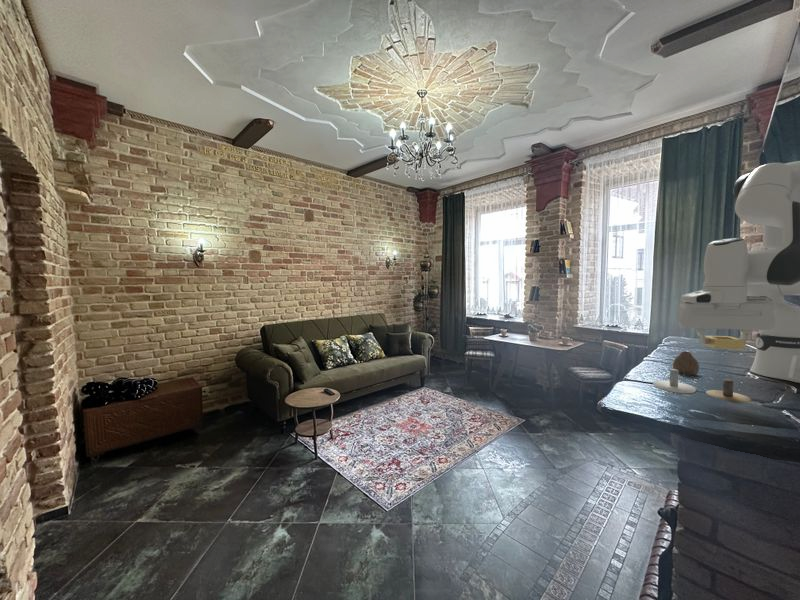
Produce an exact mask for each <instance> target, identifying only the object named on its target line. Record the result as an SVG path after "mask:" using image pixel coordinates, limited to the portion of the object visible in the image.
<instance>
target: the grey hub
mask: <svg viewBox="0 0 800 600" xmlns="http://www.w3.org/2000/svg"><path fill="white" fill-rule="evenodd" d="M678 371H679V370H676V369H673V368H670V369H669V380H662V379H661V380H655V381H654V380H653V382H652V385H653V386H654V387H655V388H656V389H660V390H662V391H667V392H671V393H677V394H694V393H695V392H696V391H697V389H696V387H695V386H694V385H690V384H687V383H685V382H679V374H678Z"/></svg>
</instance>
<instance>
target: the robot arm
mask: <svg viewBox="0 0 800 600" xmlns="http://www.w3.org/2000/svg"><path fill="white" fill-rule="evenodd" d="M733 184H734V185H733V189H732V194H733V197H734V199H735V205H734V212H735V214H736V216H737V217H738V218H739V219H741V220H742V221H744V222H745V223H749V224H751V225H756V226H763V236H762V237H763V240H762V244H763V246H764V248H765V249H756V250H755V249H754V250H751V249H750V250H748V244H747V241H746V240H747V239H744V238H742V237H741V238H740V237H734V238H733V237H732V238H722V239H717V240H713V241H711V242H709V243H708V244H707V246H706V249H705V253H704V259H703V260H704V261H703V271H702V272H703V274H704V282H703V284H702V289H700V290H697V291H693V292H689V293H685V294H682V295H681V297H680V299H681V302H682V303H681V304H680V305H679V306H678V308H677V315H676V324H677V326H678V327H680V328H682V329H694V330H695V333H696V334H697V336H698V337H699V342H700V344H702V345H704V344H710V342H709V341H710V338H707V337H705V336H706V335H705V334H704V333H706V330H709V329H710V330H740V333H741V335H740V336H739V337H737V338H738V339H741V340H745V346H746V345H747V340H748V339H749V338H750V337H751V335H752V334H753V331H758V332H757V333H756V339H755V347H756V352H755V356H754V361H753V362H752V365H751V367H750V369H749V371H750V372H752V373H754V374H757V375H759V376H762V377H763V376H764V377H769V378H774V379H779V380H785V381H790V382H794V383H798V384H800V307H798V306H796V305H792V304H790V303H788V302H787V301H786V300H785V296H800V160H797V161H791V162H787V163H784V162H768V163H765V164H763V165H760V166H758V167H756V168H754V169H753V171H751V172H749V173H748V172H747V173H745V174H743V175H741V176H740V177H739V178H737V179H736V180H735V182H734V183H733Z"/></svg>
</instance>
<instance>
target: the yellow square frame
mask: <svg viewBox="0 0 800 600" xmlns="http://www.w3.org/2000/svg"><path fill="white" fill-rule="evenodd" d="M704 336H705V337H707V338H710V341H709V342H710V344H703V345H705V346H707V347H709V348H712V349H716V350H717V349H721V350H722V349H723V350H745V349H746V348H745V347H746V345H745V340H741V339H738V338H739V337H735V336H728V335H704Z"/></svg>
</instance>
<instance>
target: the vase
mask: <svg viewBox="0 0 800 600" xmlns="http://www.w3.org/2000/svg"><path fill="white" fill-rule="evenodd" d="M699 364H700V363H699V362H698V360H697V359H696V358H695V357H694V356H693V354H692V353H691V351H681V352H680V354H678V355H677V356H676V357H675V358H674V360H673V363H672V369H676V370H679V371H678V375H686V376H687V375H689V376H698V374H699V372H700V365H699Z"/></svg>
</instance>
